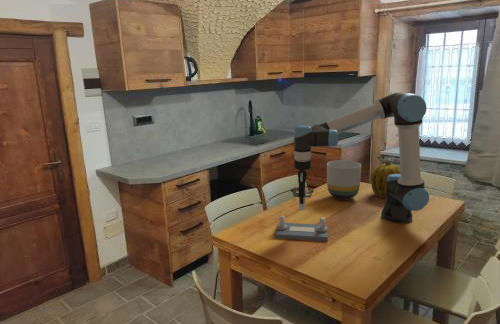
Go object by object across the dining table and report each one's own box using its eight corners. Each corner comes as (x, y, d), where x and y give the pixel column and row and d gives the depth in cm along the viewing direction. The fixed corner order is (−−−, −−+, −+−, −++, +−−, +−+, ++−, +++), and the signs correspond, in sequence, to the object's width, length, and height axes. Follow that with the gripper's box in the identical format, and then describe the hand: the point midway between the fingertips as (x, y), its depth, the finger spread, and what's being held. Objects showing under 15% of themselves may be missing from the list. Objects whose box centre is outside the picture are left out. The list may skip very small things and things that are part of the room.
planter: (363, 203, 218) (365, 167, 213) (329, 204, 219) (330, 168, 213) (354, 193, 237) (356, 159, 232) (323, 193, 237) (324, 160, 232)
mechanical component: (313, 210, 176) (313, 190, 174) (290, 209, 178) (290, 189, 176) (313, 208, 179) (313, 188, 177) (291, 207, 181) (291, 187, 179)
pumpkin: (365, 192, 238) (367, 153, 232) (394, 190, 239) (397, 152, 234) (378, 202, 219) (380, 160, 214) (409, 200, 221) (413, 158, 215)
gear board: (327, 228, 186) (327, 213, 184) (327, 241, 172) (328, 224, 171) (278, 226, 190) (278, 211, 188) (275, 238, 177) (274, 222, 175)
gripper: (295, 155, 181) (295, 202, 187) (292, 163, 166) (292, 214, 172) (311, 156, 180) (310, 203, 185) (310, 164, 165) (309, 215, 170)
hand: (301, 208), depth 178 cm, fingers closed on mechanical component, 3 cm apart
